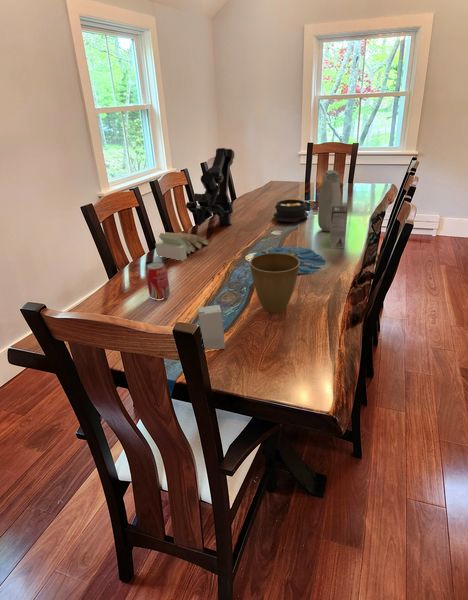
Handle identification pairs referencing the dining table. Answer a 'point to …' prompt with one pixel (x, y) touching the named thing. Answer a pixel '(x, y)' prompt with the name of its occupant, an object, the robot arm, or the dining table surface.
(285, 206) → the casserole
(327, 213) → the grey bottle
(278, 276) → the plant pot
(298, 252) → the decorative plate
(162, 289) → the soda can
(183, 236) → the maple tile
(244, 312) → the dining table surface
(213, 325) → the skincare box
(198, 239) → the maple tile
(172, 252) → the block
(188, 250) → the sage end tile
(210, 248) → the dining table surface
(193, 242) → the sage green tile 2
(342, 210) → the coffee box
